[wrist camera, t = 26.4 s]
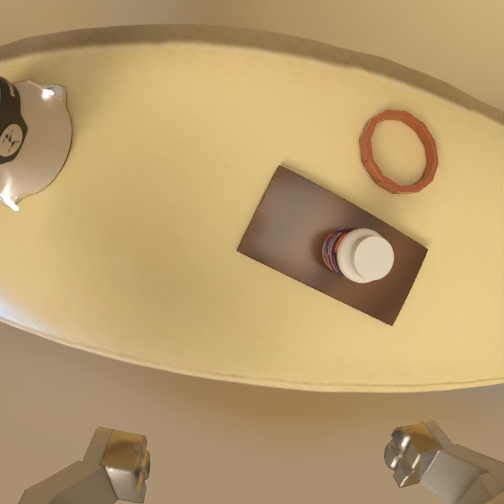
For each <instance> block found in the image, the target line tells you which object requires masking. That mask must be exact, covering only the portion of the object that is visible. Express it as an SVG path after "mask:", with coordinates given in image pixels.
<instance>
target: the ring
mask: <svg viewBox="0 0 504 504" xmlns="http://www.w3.org/2000/svg"><path fill="white" fill-rule="evenodd" d="M385 119H387V120H399V121H402V122H404V123H405V124H407V125H408V126H410V127H411V128H413V129H414V130H415V131H416V132H417V134H418V135H419V137H420V139H421V140H422V142H423V144H424V145H425V150H426V156H427V166H426V169H425V172H424V174H423V177H422V179H421V180H419V181H418V182H417V183H415V184H414V185H413V186H399V185H398V184H396V183H395V182H393V181H392V180H390V179H388V178H387V177H385V176H384V175H383V174H382V172H381V170H380V169H379V167H378V166H377V164H376V162H375V161H374V159H373V154H372V146H371V136H372V134H373V132H374V129H375V127H376V124H378V123H380V122H381V121H383V120H385ZM360 147H361V155H362V162H363V164H364V166H365V167H366V169H367V171H368V172H369V174H370V175H371V177H372V178H373V180H374V182H375V183H377V184H378V185H380V186H382V187H383V188H385V189H386V190H388V191H390V192H391V193H394V194H412V193H416V192H419V191H420V190H422V189H423V188H424V187H426V186H427V185H428V184H430V183H431V182H432V181H433V178H434V175H435V173H436V170H437V166H438V155H437V148H436V143H435V140H434V139H433V137H432V135H431V134H430V132H429V130H428V129H427V127H426V126H425V124H424V123H423V122H421V121H420V120H419V119H417V118H416V117H414V116H413V115H411V114H410V113H408V112H406V111H397V110H386V111H384V112H383V113H381V114H379V115H377V116H376V117H374V118H372V119H371V120H370V121H369V122H368V123H367V125H366V127H365V129H364V132H363V134H362V136H361V139H360Z"/></svg>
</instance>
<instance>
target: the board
mask: <svg viewBox="0 0 504 504" xmlns="http://www.w3.org/2000/svg"><path fill="white" fill-rule="evenodd" d="M340 228H367V229H371V230H373V231H375V232H377V233H378V234H379V235H380V236H381V237H382V238H384V239H385V240H387V241H388V242H389V244H390V245H391V247H392V249H393V253H394V261H393V265H392V268H391V269H390V271H389V272H388V274H387V275H385V276H384V277H383V278H381V279H378V280H373V281H371V282H367V283H357V282H354V281H351V280H349V279H347V278H346V277H344V276H341V275H339V274H337V273H335V272H334V271H332V270H331V269H330V268H329V267H328V266H327V265H326V263H325V262H324V259H323V254H322V248H323V244H324V241H325V239H326V238H327V236H328V235H329V234H330V233H332V232H333V231H335V230H337V229H340ZM237 251H238V252H240V253H242V254H244V255H246V256H248V257H250V258H252V259H254V260H256V261H258V262H260V263H263V264H265V265H267V266H269V267H271V268H273V269H275V270H277V271H279V272H281V273H283V274H285V275H287V276H289V277H291V278H293V279H295V280H298V281H300V282H302V283H304V284H306V285H308V286H310V287H312V288H314V289H316V290H318V291H320V292H322V293H324V294H326V295H329V296H331V297H333V298H335V299H337V300H339V301H341V302H343V303H345V304H347V305H349V306H351V307H353V308H355V309H358V310H360V311H362V312H364V313H366V314H368V315H370V316H372V317H374V318H376V319H378V320H380V321H383V322H385V323H387V324H389V325H391V326H393V324H394V322H395V320H396V318H397V316H398V314H399V312H400V310H401V308H402V306H403V304H404V302H405V300H406V298H407V296H408V294H409V292H410V290H411V287H412V285H413V283H414V281H415V279H416V277H417V274H418V272H419V270H420V267H421V265H422V263H423V261H424V258H425V256H426V253H427V251H428V249H427V248H425V247H424V246H422V245H420V244H419V243H417V242H416V241H414V240H413V239H411V238H409V237H408V236H406V235H405V234H403V233H401V232H400V231H398V230H396V229H395V228H393V227H391V226H390V225H388V224H386V223H385V222H383V221H381V220H380V219H378V218H376V217H375V216H373V215H371V214H369V213H368V212H366V211H364V210H363V209H361V208H359V207H357V206H356V205H354V204H352V203H350V202H348V201H347V200H345V199H343V198H341V197H339V196H338V195H336V194H334V193H332V192H330V191H328V190H327V189H325V188H323V187H321V186H319V185H317V184H315V183H313V182H311V181H310V180H308V179H306V178H304V177H302V176H300V175H298V174H296V173H294V172H292V171H290V170H288V169H286V168H284V167H282V166H280V165H279V166H278V168H277V170H276V172H275V174H274V176H273V178H272V180H271V182H270V184H269V186H268V188H267V190H266V192H265V194H264V196H263V198H262V200H261V202H260V204H259V206H258V208H257V210H256V212H255V214H254V216H253V218H252V220H251V223H250V225H249V227H248V229H247V231H246V233H245V235H244V237H243V239H242V241H241V243H240V245H239V247H238V249H237Z"/></svg>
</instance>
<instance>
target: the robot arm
mask: <svg viewBox="0 0 504 504" xmlns="http://www.w3.org/2000/svg"><path fill="white" fill-rule="evenodd" d="M71 137H72V125H71V119H70V116H69V113H68V111H67V108H66V89H65V88H64V87H62V86H60V85H37V84H35V83H33V82H32V81H29V80H27V81H26V82H13V83H10V82H9V81H8V80H7V79H5V78H3V77H0V200H1V201H2V202H3V203H4V205H6V206H8V207H12V208H13V209H14V210H18V207H17V206H16V204H17V203H18V202H19V201H20V200H21V199H22V198H24V197H26V196H28V195H32V194H35V193H37V192H39V191H41V190H42V189H44V188H45V187H46V186H48V185H49V184H50V183H51V182H52V181H53V179H54V178H55V177H56V176H57V174H58V173H59V171H60V170H61V168H62V166H63V164H64V162H65V160H66V157H67V155H68V152H69V148H70V144H71ZM392 438H393V439H392V440H391V441H390V442H389V443H388V444H387V446H386V448H385V453H384V458H385V462H386V464H387V466H388V467H389V468H390V469H392V470H394V473H393V477H394V479H395V481H396V482H397V484H398V486H399V488H402V487H406V486H410V485H413V484H417V483H419V484H420V485H422V486H423V487H425V488H426V489H428V490H429V491H431V492H432V493H434V494H435V495H437V496H439V497H440V498H442V499H443V500H445V501H446V502H448V503H450V504H504V463H503V462H501V461H499V460H496V459H493V458H490V457H488V456H485V455H483V454H480V453H478V452H475V451H473V450H470V449H468V448H466V447H463V446H460V445H458V444H455V445H454V444H453V443H452V442H451V440H450V439H449V438H448V437H447V436H446V434H445V433H444V432H443V431H442V429H441V428H440V427H439V426H438V424H437V423H436V422H435V421H434V420H432V419H430V420H426V421H422V422H418V423H413V424H409V425H405V426H400V427H397V428H395V429H394V431H393V433H392ZM146 445H147V440H146V436H145V435H141V434H135V433H128V432H124V431H118V430H113V429H108V428H103V427H99V428H97V429H96V431H95V433H94V436H93V438H92V440H91V442H90V445H89V447H88V449H87V452H86V454H85V457H84V459H83V461H77V462H75V463H73V464H71V465H70V466H68V467H66V468H65V469H63V470H61V471H59V472H57V473H56V474H54V475H52V476H50V477H48V478H47V479H45V480H43V481H41V482H39V483H37V484H35V485H34V486H32V487H30V488H28V489H26V490H25V491H24V493H23V495H22V497H21V499H20V501H19V503H18V504H114V503H115V502H116V501H117V500H123V501H128V502H135V503H144V498H145V493H146V485H145V480H146V479H148V477H149V471H150V456H149V452H148V451H147V450H146Z"/></svg>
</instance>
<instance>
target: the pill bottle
mask: <svg viewBox="0 0 504 504" xmlns="http://www.w3.org/2000/svg"><path fill="white" fill-rule="evenodd" d="M322 254H323V259H324V262H325V263H326V265H327V266H328V267H329V268H330V269H331V270H332V271H334V272H335V273H337V274H339V275H341V276H344V277H346V278H347V279H349V280H351V281H354V282H357V283H367V282H371V281H373V280H378V279H381V278H383V277H384V276H385V275H387V274H388V272H389V271H390V269H391V268H392V265H393V261H394V253H393V249H392V247H391V245H390V244H389V242H388V241H387V240H385V239H384V238H382V237H381V236H380V235H379V234H378V233H377V232H375V231H373V230H371V229H367V228H340V229H337V230H335V231H333V232H332V233H330V234H329V235H328V236H327V238H326V239H325V241H324V244H323V248H322Z"/></svg>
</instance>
